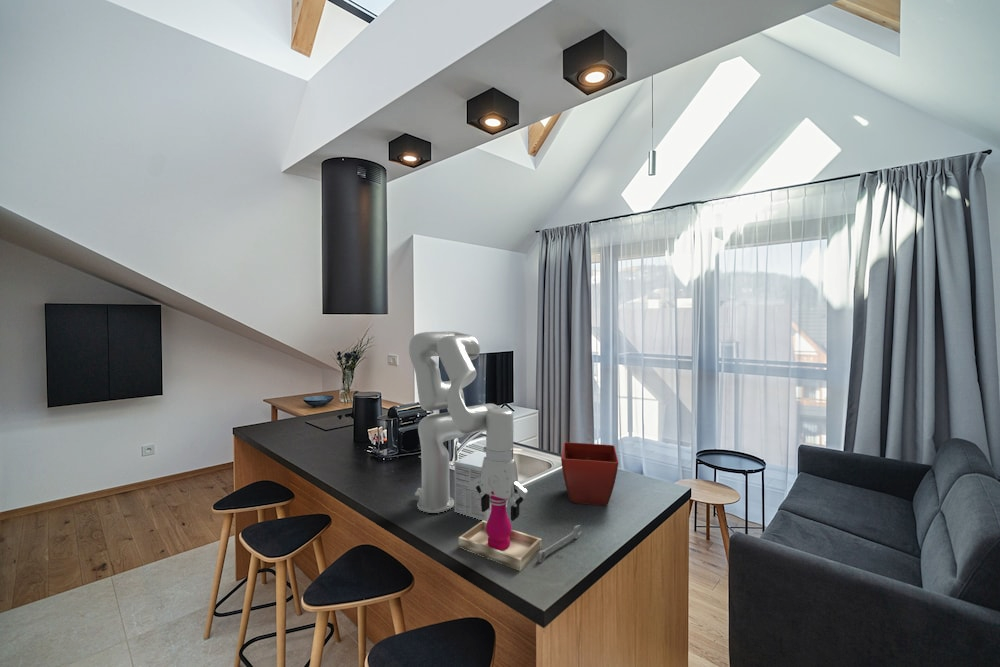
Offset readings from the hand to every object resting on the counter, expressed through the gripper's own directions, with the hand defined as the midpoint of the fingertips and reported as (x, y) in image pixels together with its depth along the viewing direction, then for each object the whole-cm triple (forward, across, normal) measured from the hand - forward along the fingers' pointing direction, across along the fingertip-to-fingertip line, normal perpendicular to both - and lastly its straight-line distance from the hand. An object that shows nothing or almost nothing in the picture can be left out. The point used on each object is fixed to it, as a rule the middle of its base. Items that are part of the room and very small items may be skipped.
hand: (499, 514), depth 116 cm
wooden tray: (+10, 0, 0) cm, 10 cm away
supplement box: (+10, -18, +16) cm, 26 cm away
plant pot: (+10, +9, +46) cm, 47 cm away
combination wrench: (+10, +14, +10) cm, 20 cm away
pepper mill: (+9, 0, 0) cm, 9 cm away
